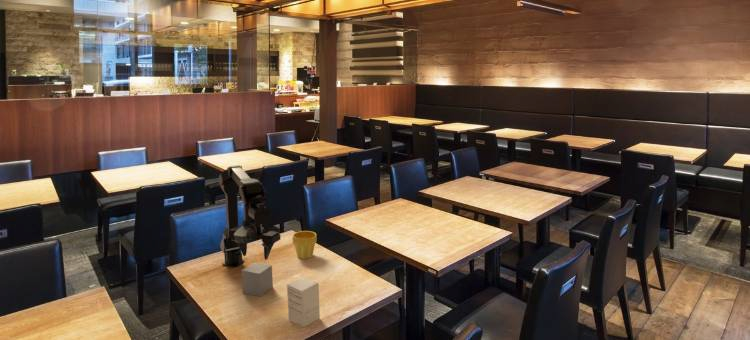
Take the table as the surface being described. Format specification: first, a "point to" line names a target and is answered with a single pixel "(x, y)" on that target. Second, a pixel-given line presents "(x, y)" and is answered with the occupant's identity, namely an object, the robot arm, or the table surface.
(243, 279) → the grey cube
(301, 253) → the plant pot
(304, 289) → the supplement box
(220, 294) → the table surface
